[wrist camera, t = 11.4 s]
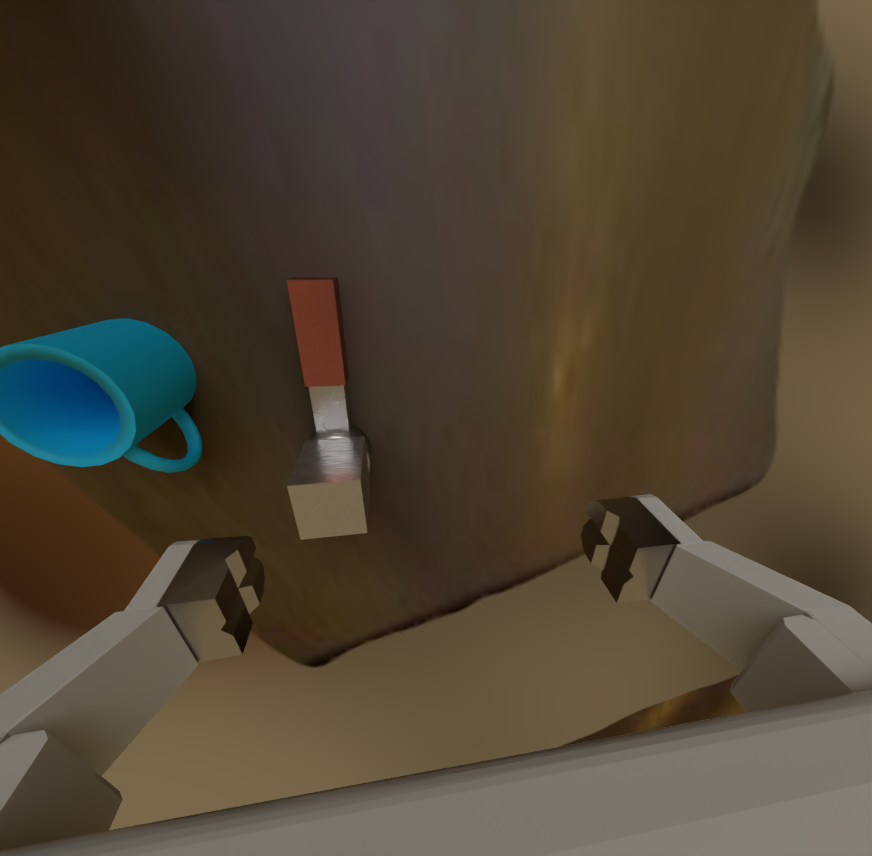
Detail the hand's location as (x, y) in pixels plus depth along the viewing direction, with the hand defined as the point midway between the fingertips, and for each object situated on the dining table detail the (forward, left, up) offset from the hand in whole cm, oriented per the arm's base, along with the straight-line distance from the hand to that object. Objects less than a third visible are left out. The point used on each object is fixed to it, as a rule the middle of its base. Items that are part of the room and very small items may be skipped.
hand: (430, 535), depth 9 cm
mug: (+4, -20, -24) cm, 32 cm away
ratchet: (+5, -6, -24) cm, 25 cm away
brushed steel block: (+11, -6, -21) cm, 24 cm away
